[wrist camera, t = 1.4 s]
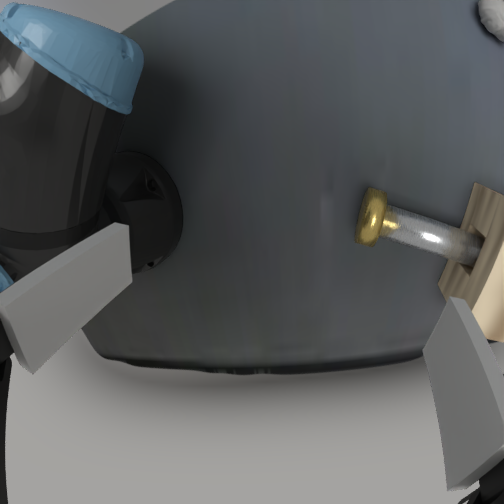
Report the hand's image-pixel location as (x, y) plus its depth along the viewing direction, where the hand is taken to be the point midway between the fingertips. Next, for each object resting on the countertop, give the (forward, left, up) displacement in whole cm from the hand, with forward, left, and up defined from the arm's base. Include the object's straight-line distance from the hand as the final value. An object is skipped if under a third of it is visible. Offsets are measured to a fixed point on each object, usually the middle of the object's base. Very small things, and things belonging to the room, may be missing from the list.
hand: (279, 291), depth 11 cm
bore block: (+20, -1, -21) cm, 29 cm away
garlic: (+15, +24, -21) cm, 36 cm away
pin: (+11, -1, -19) cm, 22 cm away
